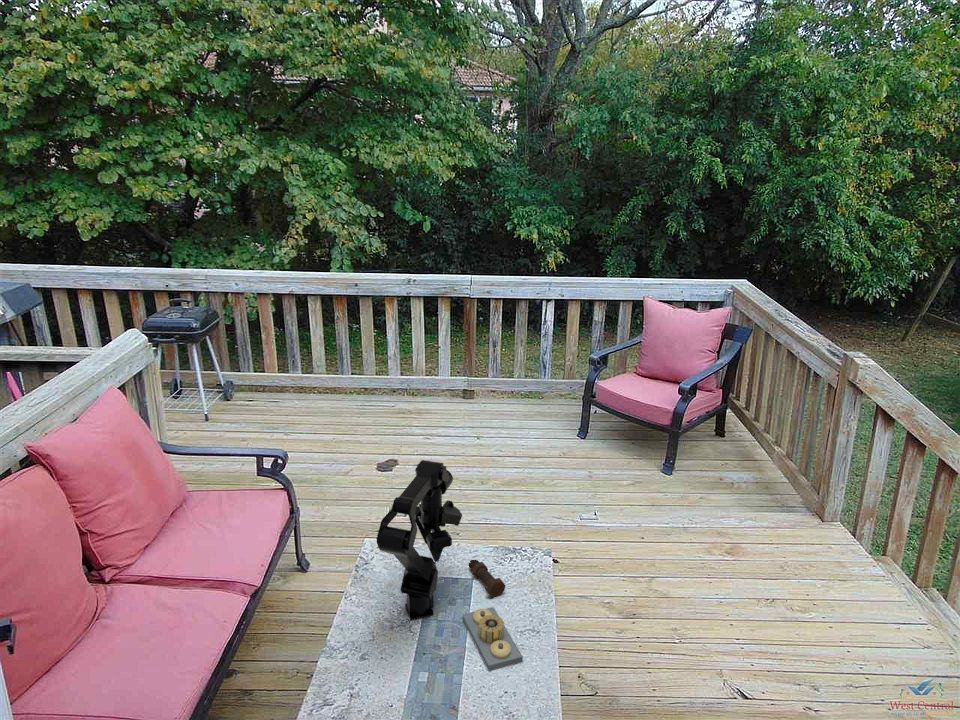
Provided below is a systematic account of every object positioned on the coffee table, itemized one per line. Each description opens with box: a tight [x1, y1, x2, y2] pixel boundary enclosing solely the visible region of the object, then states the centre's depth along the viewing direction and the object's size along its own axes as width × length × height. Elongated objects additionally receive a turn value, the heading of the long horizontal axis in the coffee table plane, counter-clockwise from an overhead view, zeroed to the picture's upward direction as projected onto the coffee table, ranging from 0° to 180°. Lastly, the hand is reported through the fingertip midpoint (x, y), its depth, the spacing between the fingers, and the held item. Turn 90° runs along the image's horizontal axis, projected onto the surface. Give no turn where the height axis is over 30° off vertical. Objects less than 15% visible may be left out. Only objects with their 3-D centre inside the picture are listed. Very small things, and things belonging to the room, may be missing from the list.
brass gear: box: [478, 615, 505, 644], centre depth 168 cm, size 6×6×4 cm
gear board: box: [461, 606, 524, 672], centre depth 168 cm, size 9×20×6 cm, turn 21°
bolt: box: [468, 559, 506, 599], centre depth 191 cm, size 6×5×15 cm
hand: (431, 552), depth 185 cm, fingers open, 9 cm apart
